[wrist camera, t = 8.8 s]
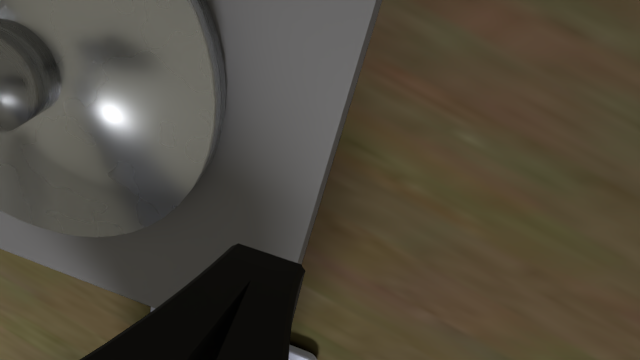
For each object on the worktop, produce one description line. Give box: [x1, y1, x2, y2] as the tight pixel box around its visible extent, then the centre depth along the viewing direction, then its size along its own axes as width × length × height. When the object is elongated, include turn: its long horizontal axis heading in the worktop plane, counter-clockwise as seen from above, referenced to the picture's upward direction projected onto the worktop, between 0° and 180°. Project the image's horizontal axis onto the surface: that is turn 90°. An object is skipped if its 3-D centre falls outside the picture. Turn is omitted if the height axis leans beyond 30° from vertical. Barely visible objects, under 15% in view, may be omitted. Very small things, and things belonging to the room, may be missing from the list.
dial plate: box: [0, 0, 382, 308], centre depth 19 cm, size 20×20×2 cm
